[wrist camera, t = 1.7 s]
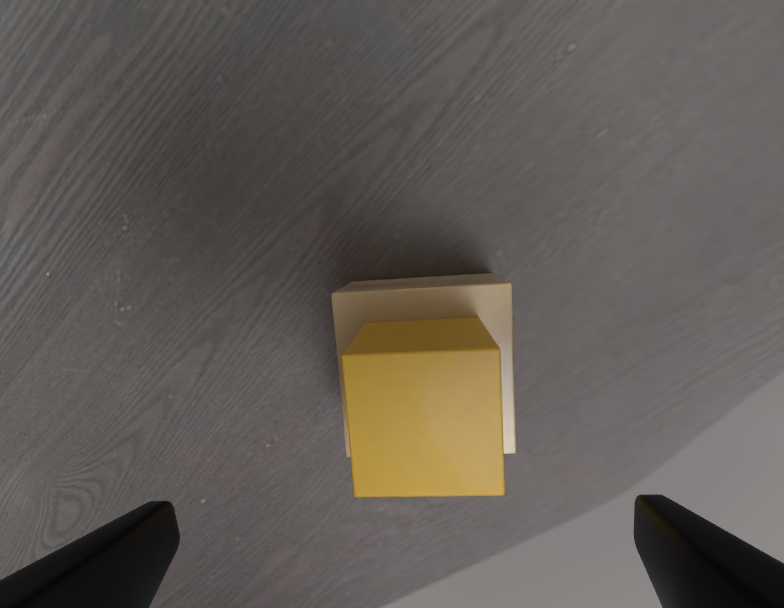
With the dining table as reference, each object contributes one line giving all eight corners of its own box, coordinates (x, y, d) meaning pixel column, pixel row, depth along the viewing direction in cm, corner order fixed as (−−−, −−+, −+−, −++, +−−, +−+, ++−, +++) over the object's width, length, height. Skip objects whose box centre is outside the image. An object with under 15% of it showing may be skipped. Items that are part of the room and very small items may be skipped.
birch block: (497, 408, 21) (516, 454, 16) (362, 412, 21) (346, 457, 17) (492, 272, 20) (512, 282, 15) (351, 281, 20) (330, 293, 16)
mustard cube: (484, 426, 16) (505, 496, 12) (373, 429, 17) (353, 498, 12) (479, 316, 15) (501, 347, 11) (364, 322, 16) (340, 354, 11)
